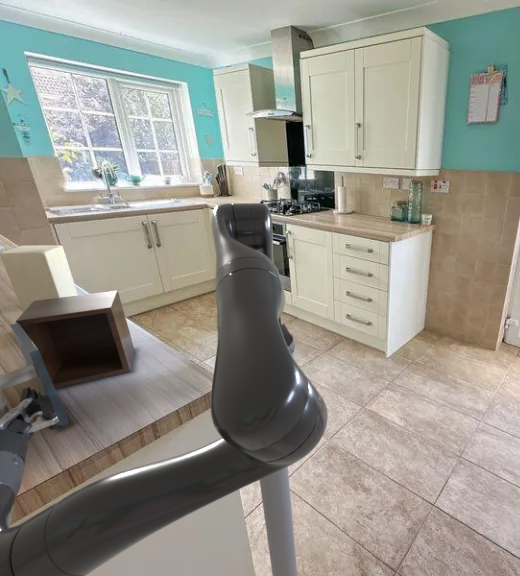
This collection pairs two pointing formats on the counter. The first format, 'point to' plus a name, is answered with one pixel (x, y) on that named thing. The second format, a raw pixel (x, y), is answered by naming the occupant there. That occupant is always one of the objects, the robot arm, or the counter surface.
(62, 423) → the door
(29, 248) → the cream rectangular block
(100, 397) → the counter surface
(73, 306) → the cupboard
